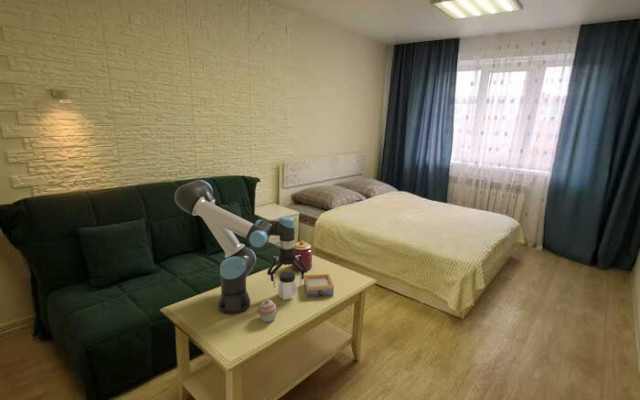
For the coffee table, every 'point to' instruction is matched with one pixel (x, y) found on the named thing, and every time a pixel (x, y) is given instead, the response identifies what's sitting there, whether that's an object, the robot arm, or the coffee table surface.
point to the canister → (303, 255)
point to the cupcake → (267, 311)
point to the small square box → (318, 285)
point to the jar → (287, 285)
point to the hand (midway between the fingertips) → (287, 285)
